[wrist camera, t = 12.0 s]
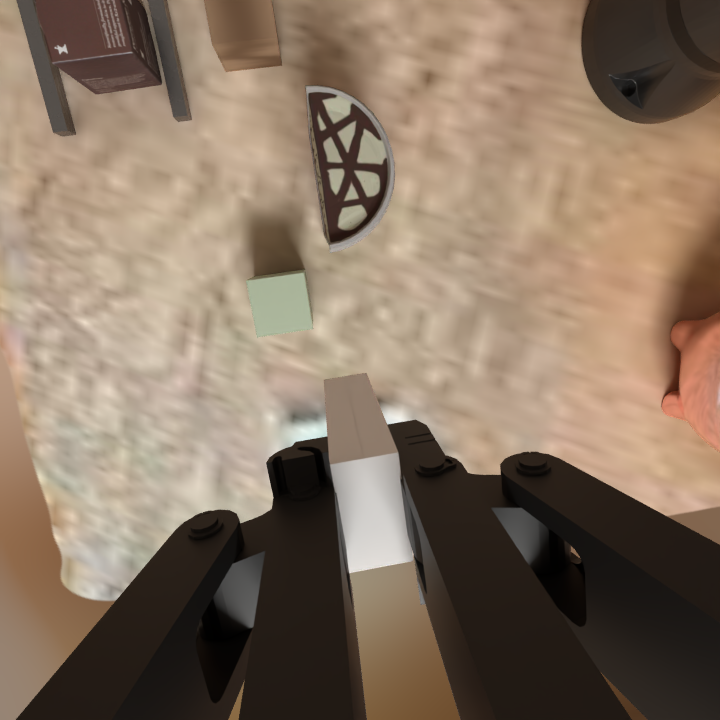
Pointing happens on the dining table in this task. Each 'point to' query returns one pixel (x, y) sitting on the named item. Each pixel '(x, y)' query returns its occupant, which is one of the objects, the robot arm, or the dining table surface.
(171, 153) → the dining table surface
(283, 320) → the sage green block
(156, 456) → the dining table surface
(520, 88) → the dining table surface
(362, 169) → the food container
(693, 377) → the piggy bank
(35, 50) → the corral
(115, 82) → the box
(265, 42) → the walnut block
